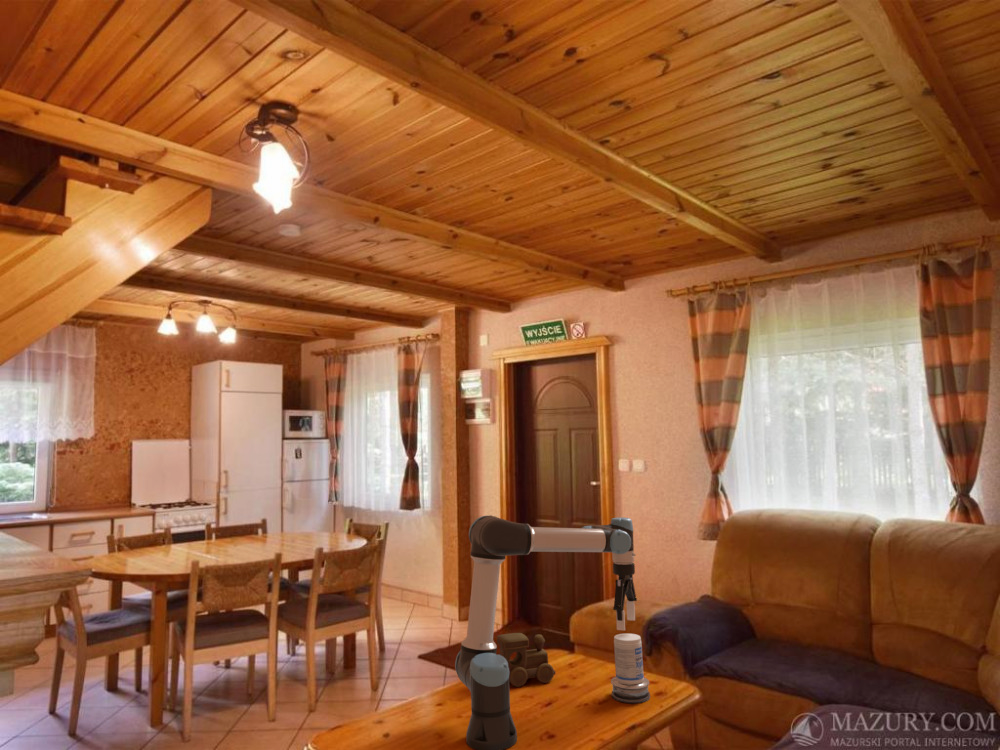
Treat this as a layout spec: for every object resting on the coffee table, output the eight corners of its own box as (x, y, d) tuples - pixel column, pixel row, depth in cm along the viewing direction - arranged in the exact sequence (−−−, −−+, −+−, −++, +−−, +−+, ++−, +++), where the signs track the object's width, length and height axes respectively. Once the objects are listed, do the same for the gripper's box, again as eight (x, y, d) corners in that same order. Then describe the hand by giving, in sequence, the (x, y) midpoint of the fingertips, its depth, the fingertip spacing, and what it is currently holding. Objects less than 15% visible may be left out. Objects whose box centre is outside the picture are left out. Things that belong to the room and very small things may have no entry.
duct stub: (623, 706, 218) (622, 690, 219) (605, 692, 230) (604, 678, 231) (657, 699, 222) (656, 684, 223) (637, 687, 235) (636, 672, 235)
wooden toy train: (505, 690, 236) (504, 642, 238) (497, 679, 247) (495, 634, 249) (557, 682, 242) (555, 635, 244) (546, 672, 253) (545, 628, 255)
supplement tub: (643, 686, 221) (641, 641, 223) (615, 685, 223) (612, 640, 225) (644, 676, 231) (641, 633, 233) (616, 675, 233) (614, 632, 235)
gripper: (624, 569, 219) (627, 635, 216) (642, 557, 241) (645, 617, 238) (602, 567, 222) (605, 633, 219) (622, 556, 244) (625, 615, 242)
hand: (626, 625), depth 229 cm, fingers open, 13 cm apart
